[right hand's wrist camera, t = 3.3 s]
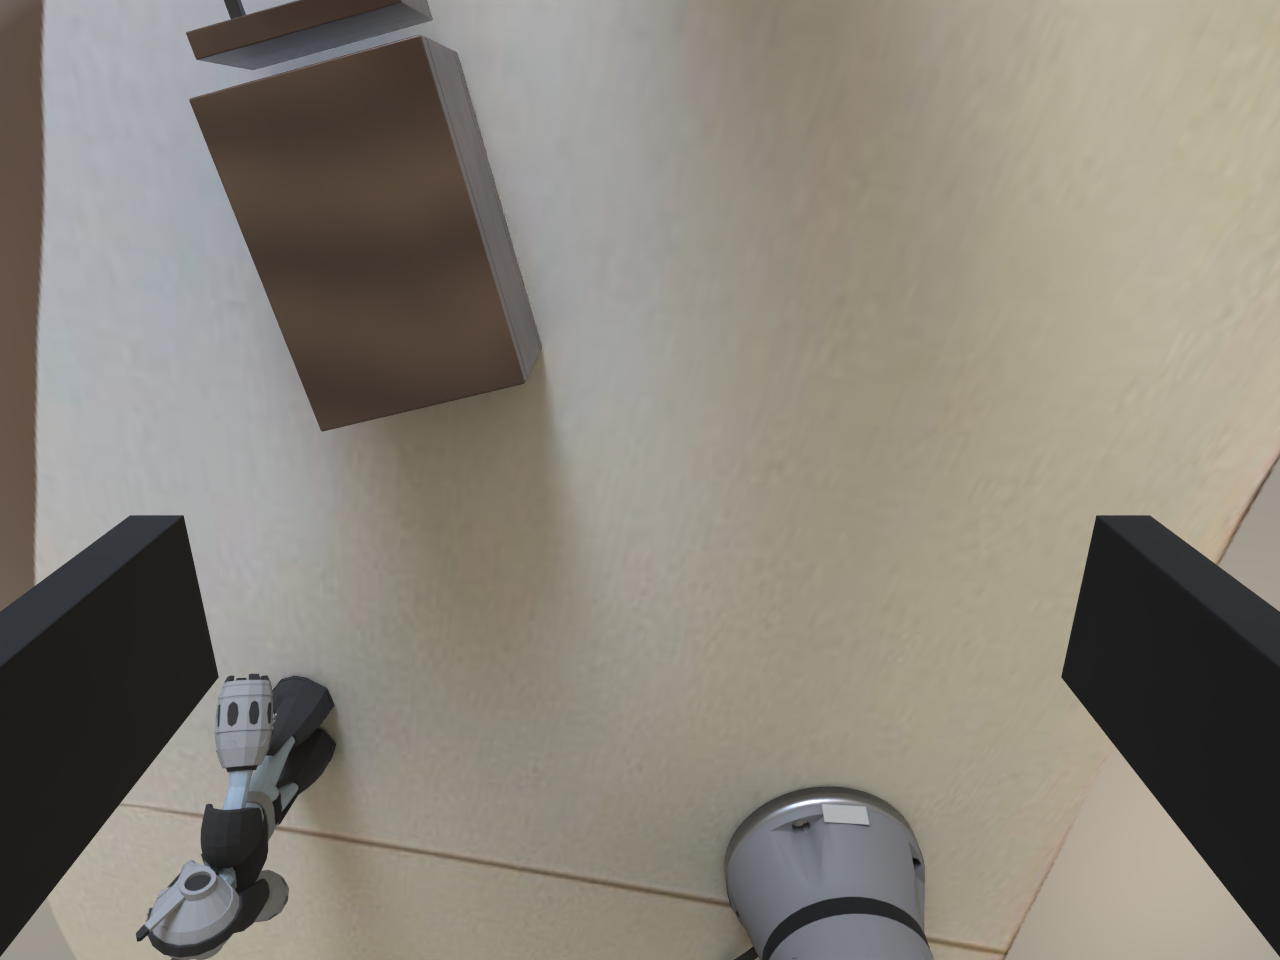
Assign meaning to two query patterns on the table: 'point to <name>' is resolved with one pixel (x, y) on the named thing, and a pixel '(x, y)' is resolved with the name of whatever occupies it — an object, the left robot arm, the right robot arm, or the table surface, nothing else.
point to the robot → (244, 815)
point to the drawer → (299, 29)
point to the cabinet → (375, 229)
